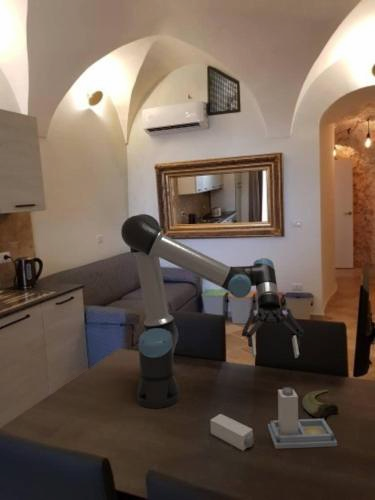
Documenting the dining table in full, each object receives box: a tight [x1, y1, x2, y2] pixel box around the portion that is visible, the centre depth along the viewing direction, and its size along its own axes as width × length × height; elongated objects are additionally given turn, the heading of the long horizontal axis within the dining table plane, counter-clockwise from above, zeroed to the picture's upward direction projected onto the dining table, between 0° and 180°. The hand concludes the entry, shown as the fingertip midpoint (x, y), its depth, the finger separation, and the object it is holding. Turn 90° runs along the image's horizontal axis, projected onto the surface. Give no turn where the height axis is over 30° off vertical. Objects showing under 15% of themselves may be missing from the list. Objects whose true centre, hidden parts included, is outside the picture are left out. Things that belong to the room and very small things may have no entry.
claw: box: [301, 389, 339, 420], centre depth 128 cm, size 20×10×3 cm, turn 174°
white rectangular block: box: [209, 413, 255, 451], centre depth 112 cm, size 13×4×4 cm, turn 44°
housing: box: [267, 418, 338, 450], centre depth 112 cm, size 17×10×3 cm, turn 90°
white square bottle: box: [277, 386, 299, 436], centre depth 111 cm, size 4×4×13 cm
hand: (275, 356), depth 124 cm, fingers open, 13 cm apart
